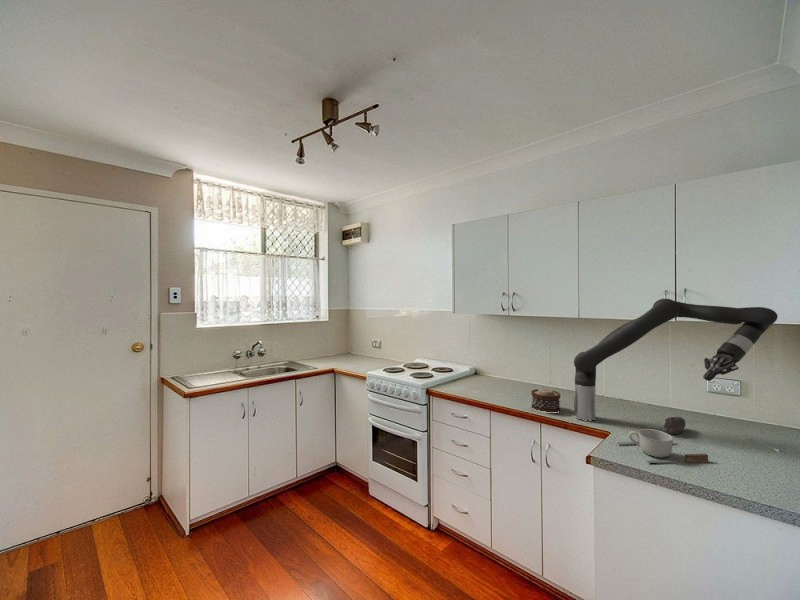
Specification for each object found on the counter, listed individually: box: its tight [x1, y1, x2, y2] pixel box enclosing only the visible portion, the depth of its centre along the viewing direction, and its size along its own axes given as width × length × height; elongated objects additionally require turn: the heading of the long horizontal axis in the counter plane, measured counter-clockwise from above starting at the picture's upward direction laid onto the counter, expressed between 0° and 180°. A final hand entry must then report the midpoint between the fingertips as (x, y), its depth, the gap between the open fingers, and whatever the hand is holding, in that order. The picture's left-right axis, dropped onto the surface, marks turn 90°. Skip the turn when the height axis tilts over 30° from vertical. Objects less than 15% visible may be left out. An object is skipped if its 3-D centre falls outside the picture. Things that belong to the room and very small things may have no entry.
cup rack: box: [684, 453, 709, 464], centre depth 138 cm, size 17×8×2 cm, turn 4°
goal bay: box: [616, 441, 676, 465], centre depth 137 cm, size 18×10×1 cm, turn 4°
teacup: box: [628, 428, 674, 459], centre depth 137 cm, size 14×11×8 cm
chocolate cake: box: [530, 388, 561, 412], centre depth 190 cm, size 15×11×15 cm
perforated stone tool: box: [663, 416, 686, 435], centre depth 158 cm, size 15×5×7 cm, turn 119°
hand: (706, 379), depth 140 cm, fingers closed
